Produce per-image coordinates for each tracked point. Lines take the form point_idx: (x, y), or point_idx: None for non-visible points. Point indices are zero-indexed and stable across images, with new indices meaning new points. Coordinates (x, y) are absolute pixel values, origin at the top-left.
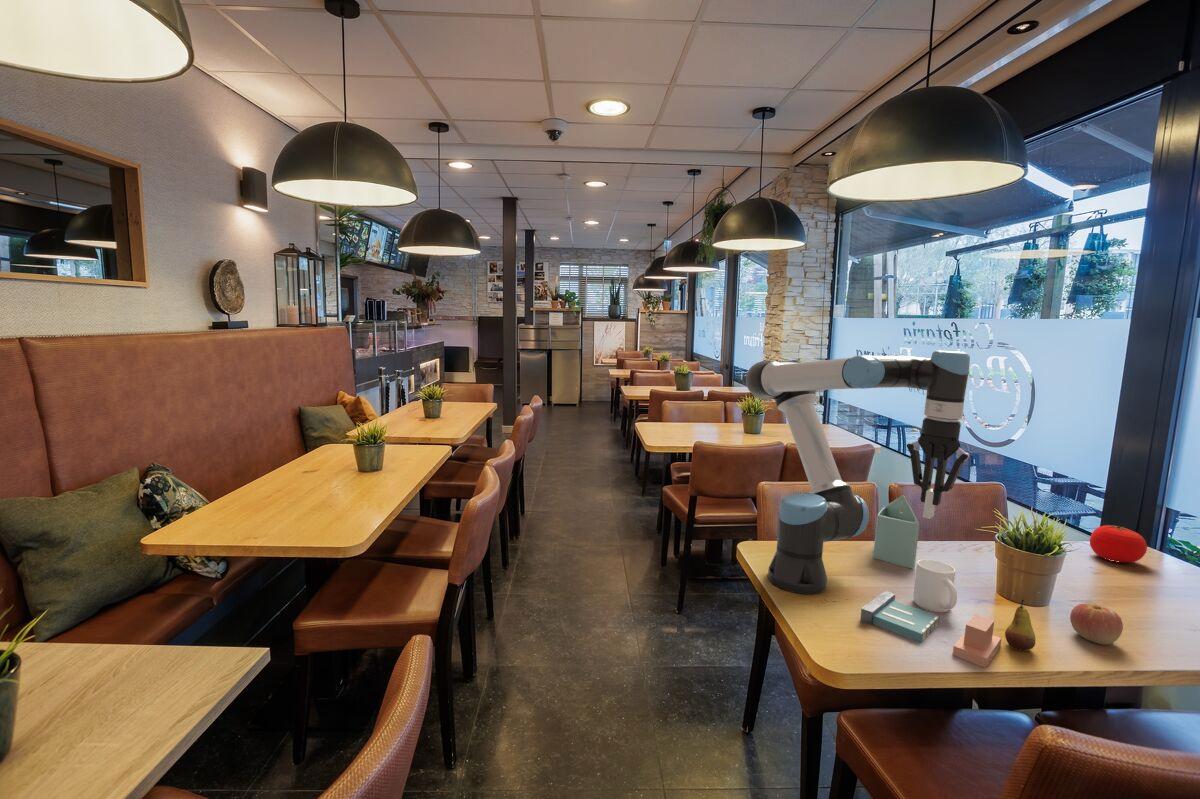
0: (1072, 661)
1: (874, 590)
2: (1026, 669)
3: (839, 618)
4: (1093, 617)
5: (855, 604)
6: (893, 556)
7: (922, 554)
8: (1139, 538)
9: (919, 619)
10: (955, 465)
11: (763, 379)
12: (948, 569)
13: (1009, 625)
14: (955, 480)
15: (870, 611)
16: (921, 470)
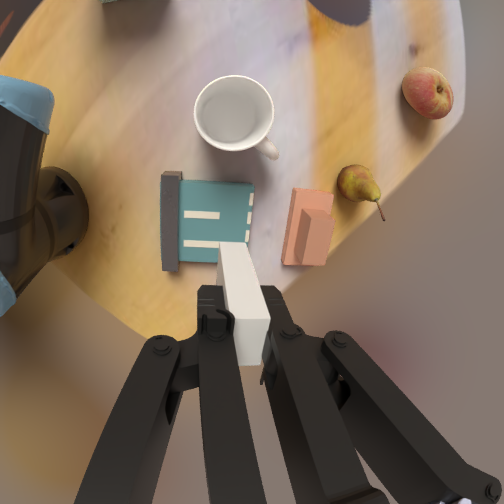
0: (393, 171)
1: (137, 134)
2: (351, 230)
3: (143, 272)
4: (434, 113)
5: (137, 214)
6: None
7: None
8: None
9: (232, 222)
10: (398, 488)
11: None
12: (255, 86)
13: (348, 185)
14: (384, 378)
15: (175, 270)
16: (156, 416)
